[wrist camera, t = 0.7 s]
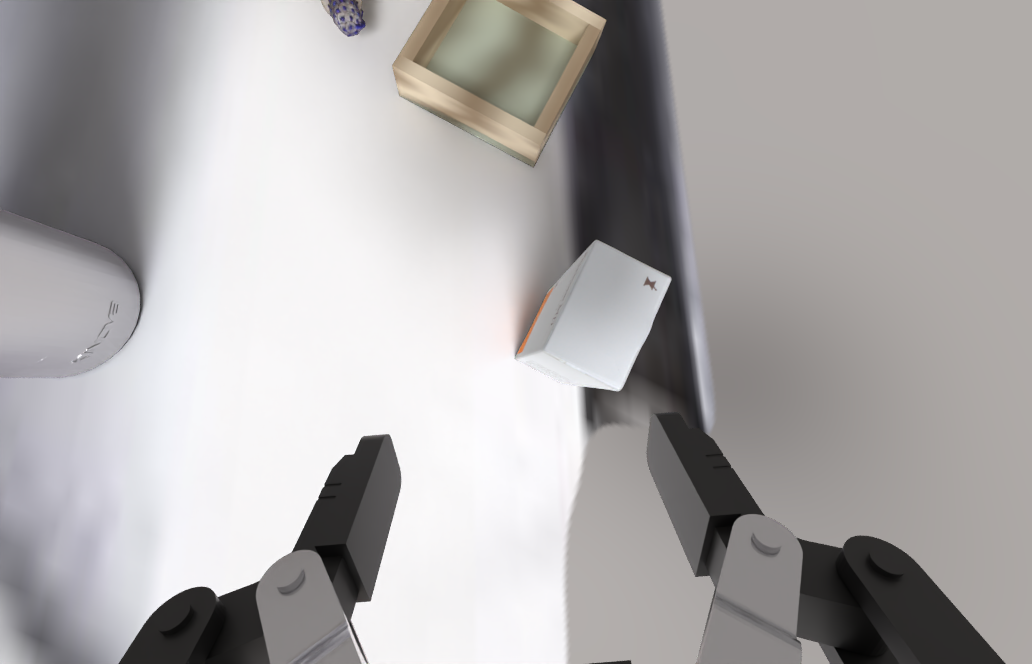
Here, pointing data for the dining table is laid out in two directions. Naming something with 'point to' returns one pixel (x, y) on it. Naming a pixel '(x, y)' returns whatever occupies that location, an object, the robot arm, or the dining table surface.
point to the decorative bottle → (346, 15)
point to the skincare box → (595, 319)
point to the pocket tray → (499, 67)
